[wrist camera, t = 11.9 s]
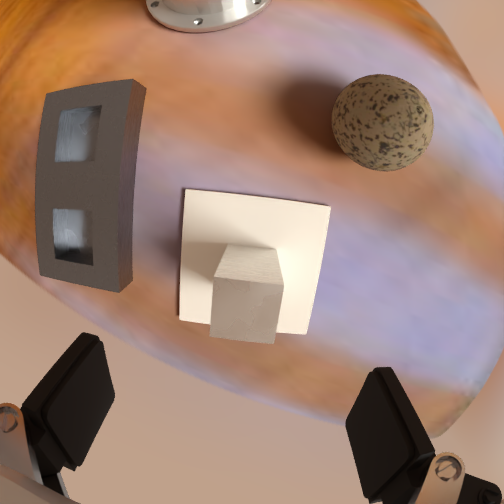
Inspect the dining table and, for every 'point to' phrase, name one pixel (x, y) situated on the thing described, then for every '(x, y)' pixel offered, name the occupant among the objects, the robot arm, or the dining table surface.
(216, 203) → the tile
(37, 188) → the block with square recesses
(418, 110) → the decorative egg
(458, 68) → the dining table surface
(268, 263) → the steel block
